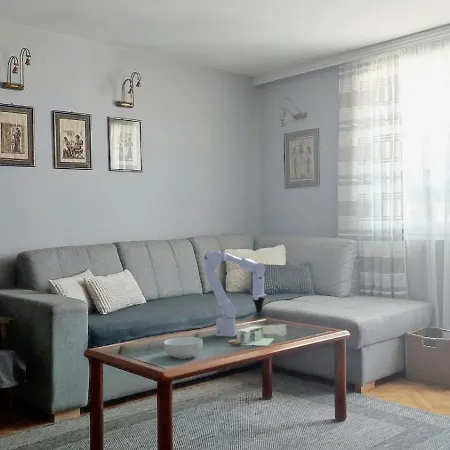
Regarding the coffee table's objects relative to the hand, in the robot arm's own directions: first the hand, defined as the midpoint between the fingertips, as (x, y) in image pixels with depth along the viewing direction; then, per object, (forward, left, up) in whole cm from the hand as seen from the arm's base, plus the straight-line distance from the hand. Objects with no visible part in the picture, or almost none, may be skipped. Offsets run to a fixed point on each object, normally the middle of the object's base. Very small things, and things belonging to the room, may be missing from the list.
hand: (259, 312), depth 301 cm
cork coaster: (-6, -26, -10) cm, 29 cm away
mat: (+4, -25, -10) cm, 27 cm away
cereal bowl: (-21, -59, -11) cm, 64 cm away
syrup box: (+3, -16, -7) cm, 18 cm away
